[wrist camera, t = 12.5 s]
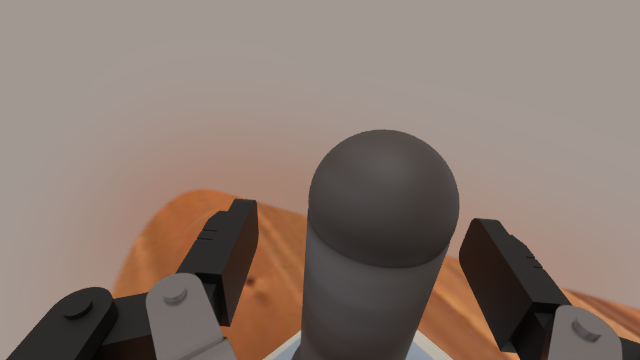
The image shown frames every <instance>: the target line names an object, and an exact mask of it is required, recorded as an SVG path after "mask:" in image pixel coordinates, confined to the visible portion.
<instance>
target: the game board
mask: <svg viewBox="0 0 640 360" xmlns="http://www.w3.org/2000/svg"><path fill="white" fill-rule="evenodd" d="M300 342H301V330H300V331H299V332H298V333H297V334H295V335H294V336H293V337H291V338H290V339H289V340H288V341H286V342H285V343H284V344H282V345H281V346H280V347H278V348H277V349H276V350H275V351H273V352H272V353H271V354H269V355H268V356H267V357H266V358H264V359H263V360H291V359H292V357H293V355H294V353H295V351H296V350H297V348H298V347H299V345H300ZM405 360H453V359H452V358H451V357H449V356H448V355H447V354H446V353H445V352H443V351H442V350H441V349H440V348H439V347H437V346H436V345H435V344H434V343H433V342H431V341H430V340H429V339H428V338H427V337H425V336H424V335H423V334H422V333H421V332H419V331H418V330H417V331H416V333H415V336H414V338H413V341H412V344H411V346H410V349H409V351H408V354H407V357H406V359H405Z"/></svg>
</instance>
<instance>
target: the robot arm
mask: <svg viewBox="0 0 640 360" xmlns="http://www.w3.org/2000/svg"><path fill="white" fill-rule="evenodd" d="M258 235H259V231H258V215H257V202H256V200H248V199H234V201H233V203H232V205H231V206H230V208H229V210H228V211H219V212H217V213H216V214H215V215H213V216H212V217H211V218H209V219H208V221H207V223H206V224H205V226H204V227H203V229H202V231H201V232H200V234H199V236H198V237H197V240H196V241H195V242H194V244H193V245H192V247H191V249H190V250H189V252H188V254H187V255H186V257H185V259H184V260H183V262H182V264H181V265H180V267H179V268H178V270H177V272H176V273H175V274H173V275H170V276H168V277H165V278H163V279H162V280H160V281H159V282H157V283H156V284H155V285H154V286H153V287H152V288H151V289H150V291H149V292H147V293H143V294H138V295H132V296H127V297H121V298H116V299H113V297H112V295H111V293H110V292H109V291H108V290H106V289H104V288H100V287H91V288H85V289H82V290H79V291H76V292H74V293H71V294H70V295H68V296H66V297H64V298H63V299H61V300H60V301H59V302H57V304H55V305H54V306H53V307H52V308H51V309H50V310H49V311H48V312H47V314H46V315H45V316H44V317H43V318H42V319H41V320H40V322H39V323H38V324H37V325H36V326H35V327H34V328H33V330H32V331H31V332H30V333H29V334H28V335H27V336H26V337H25V339H24V340H23V341H22V342H21V343H20V344H19V345H18V347H17V348H16V349H15V350H14V351H13V352H12V353H11V355H10V356H9V357H8V358H7V359H6V360H237V359H236V356H235V354H234V351H233V349H232V347H231V344H230V342H229V340H228V339H227V337H224V336H223V334H222V331H221V329H220V326H227V327H230V325H231V322H232V319H233V316H234V313H235V310H236V307H237V304H238V301H239V298H240V295H241V292H242V289H243V286H244V284H245V281H246V278H247V275H248V272H249V269H250V266H251V263H252V260H253V257H254V254H255V251H256V248H257V244H258ZM459 262H460V265H461V268H462V270H463V272H464V274H465V276H466V278H467V281H468V283H469V285H470V287H471V289H472V291H473V293H474V296H475V298H476V300H477V302H478V304H479V306H480V308H481V311H482V313H483V315H484V317H485V319H486V321H487V323H488V326H489V328H490V330H491V332H492V334H493V336H494V338H495V341H496V343H497V345H498V347H499V349H500V351H501V352H511V353H517V354H518V356H519V358H520V360H640V344H639V343H636V342H633V341H630V340H627V339H624V338H621V337H618V335H617V334H616V333H615V331H614V330H613V329H612V328H611V327H610V326H609V325H608V324H607V323H606V322H605V321H603V320H602V319H601V318H599V317H598V316H596V315H595V314H593V313H591V312H589V311H587V310H585V309H582V308H579V307H576V306H573V305H572V304H571V303H570V302H569V300H568V299H567V298H566V296H565V295H564V294H563V293H562V291H561V290H560V289H559V287H558V286H557V285H556V284H555V282H554V281H553V280H552V279H551V277H550V276H549V275H548V273H547V272H546V271H545V270H543V269H542V266H541V264H540V263H539V262H538V261H537V260H535V257H534V256H533V254H532V253H531V252H530V250H529V249H528V248H527V246H526V245H524V244H523V243H522V242H520V241H519V240H518V239H516V238H515V237H514V236H513V235H509V234H508V232H507V231H506V230H505V229H504V227H503V226H502V224H501V223H500V222H499V221H498V220H491V219H479V218H474V219H473V220H472V221H471V223H470V226H469V228H468V230H467V233H466V235H465V238H464V240H463V243H462V245H461V248H460V251H459Z"/></svg>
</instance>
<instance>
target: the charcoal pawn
mask: <svg viewBox="0 0 640 360" xmlns="http://www.w3.org/2000/svg"><path fill="white" fill-rule="evenodd" d="M458 216H459V193H458V189H457V185H456V182H455V179H454V176H453V174H452V172H451V170H450V169H449V167H448V165H447V163H446V162H445V161H444V159H443V158H442V157H441V156H440V155H439V153H438V152H437V151H436V150H434V149H433V148H432V147H431V146H430V145H428V144H427V143H426V142H424V141H422V140H420V139H418V138H416V137H415V136H412V135H410V134H407V133H404V132H399V131H394V130H372V131H366V132H362V133H359V134H356V135H354V136H351V137H349V138H347V139H346V140H344V141H342V142H340V143H339V144H338V145H337V146H335V147H334V148H333V149H332V150H331V151H330V152H329V153H328V154H327V155H326V156H325V157H324V158H323V160H322V161H321V163H320V164H319V166H318V168H317V170H316V172H315V174H314V176H313V179H312V183H311V186H310V191H309V208H308V218H307V236H306V253H305V271H304V289H303V307H302V324H301V342H300V345H299V347H298V348H297V350H296V351H295V353H294V355H293V357H292V359H291V360H405V359H406V357H407V354H408V351H409V349H410V346H411V344H412V341H413V338H414V336H415V333H416V331H417V328H418V325H419V323H420V320H421V318H422V315H423V312H424V310H425V307H426V305H427V302H428V299H429V297H430V294H431V291H432V289H433V286H434V284H435V281H436V278H437V276H438V273H439V271H440V268H441V265H442V263H443V260H444V258H445V255H446V252H447V250H448V247H449V244H450V240H451V237H452V236H453V233H454V231H455V228H456V225H457V221H458Z"/></svg>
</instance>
